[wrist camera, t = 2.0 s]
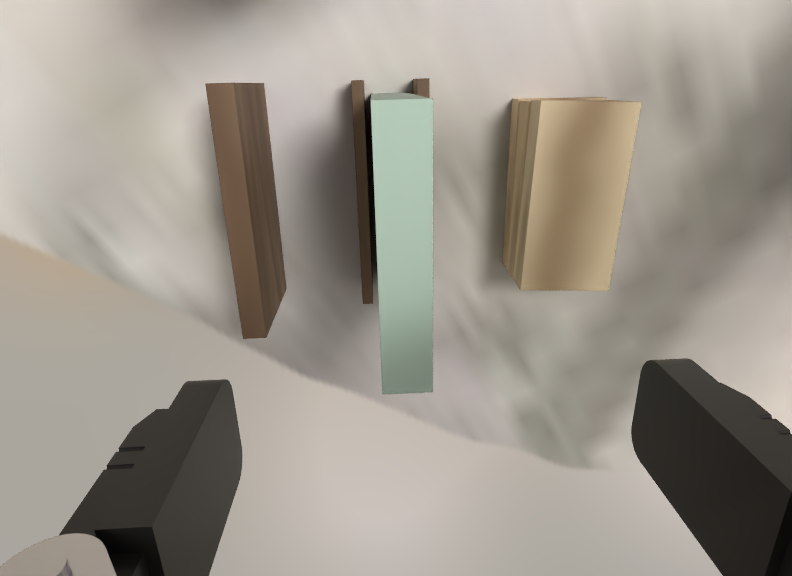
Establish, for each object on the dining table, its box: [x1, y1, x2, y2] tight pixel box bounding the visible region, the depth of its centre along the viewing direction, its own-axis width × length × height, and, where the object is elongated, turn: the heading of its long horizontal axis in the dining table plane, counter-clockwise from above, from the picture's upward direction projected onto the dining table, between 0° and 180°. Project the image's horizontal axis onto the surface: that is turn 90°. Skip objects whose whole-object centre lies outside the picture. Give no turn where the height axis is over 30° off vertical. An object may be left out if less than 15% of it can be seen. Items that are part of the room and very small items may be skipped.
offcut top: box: [513, 100, 642, 291], centre depth 28 cm, size 5×10×2 cm, turn 179°
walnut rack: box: [206, 79, 429, 339], centre depth 28 cm, size 10×12×7 cm
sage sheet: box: [371, 93, 433, 394], centre depth 25 cm, size 2×11×14 cm, turn 2°
